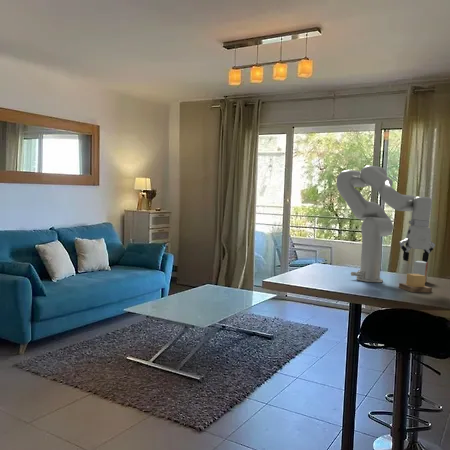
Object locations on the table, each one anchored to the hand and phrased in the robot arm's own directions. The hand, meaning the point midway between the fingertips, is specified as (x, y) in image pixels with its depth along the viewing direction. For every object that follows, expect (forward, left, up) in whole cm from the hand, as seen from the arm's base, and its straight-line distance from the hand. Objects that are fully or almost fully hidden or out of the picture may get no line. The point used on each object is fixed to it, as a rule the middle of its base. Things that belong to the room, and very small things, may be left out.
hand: (415, 261), depth 208 cm
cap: (0, -1, -11) cm, 11 cm away
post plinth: (0, -1, -13) cm, 13 cm away
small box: (+16, +20, -13) cm, 29 cm away
